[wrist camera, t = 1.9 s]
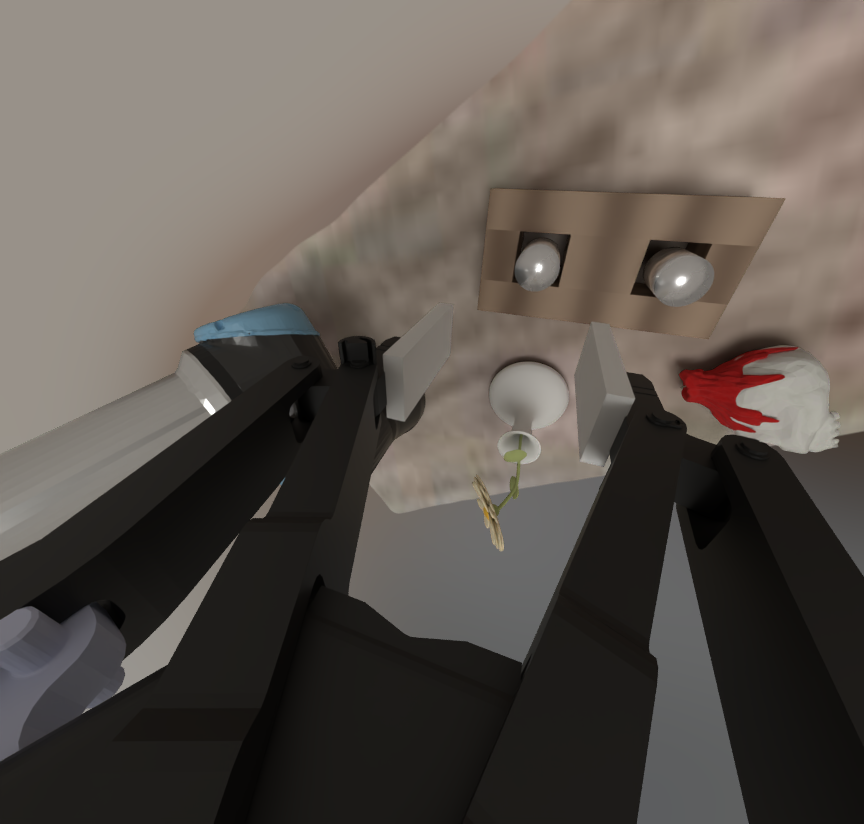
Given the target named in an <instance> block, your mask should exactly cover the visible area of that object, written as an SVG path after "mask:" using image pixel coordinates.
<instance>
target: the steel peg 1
mask: <svg viewBox="0 0 864 824" xmlns="http://www.w3.org/2000/svg"><path fill="white" fill-rule="evenodd" d="M559 269H560V250H559V248H558V246H557V244H556V243H555V242H554V241H552V240H550V239H548V238H538V239H535V240H533V241H531V242H530V243H529V244H528V245H527V246H526V247H525V248H524V250H523V252H522V253H521V255H520V256H519V258H518V260H517V262H516V265H515V277H516V280H517V282H518V283H519V285H520V286H521V287H522V288H524V289H526V290H528V291H541V290H544V289H546V288H548V287H549V286H550V285H551V284H552V283H553V282H554V281H555V280H556V278H557V276H558V273H559Z"/></svg>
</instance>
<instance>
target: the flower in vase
mask: <svg viewBox="0 0 864 824" xmlns="http://www.w3.org/2000/svg"><path fill="white" fill-rule="evenodd" d="M489 399H490V403H491V406H492V408H493V410H494V412H495V413H496V414H497V416H498V417H499V418H500V419H501V420H503V421H504V422H505V423H507V424H509V425H511V426H513V428H512V430H511V431H510V432H507V433H505V434H504V435H502V436H501V438H500V439H499V441H498V450H499V453H500V454H501V455H502V456H503V457H504V460H505V461H507V462H512V463H516V464H517V476H516V478H515V477H514V476H512V477H511V479H510V491H511V492H510V494H509V495H508V496H507V497H506V499H505V500H504V501H503V502H502V503H501V504H500V505H499V506H498V507H497V506H496V505H494V504H492V502H491V499H490V497H489V494H488V492H487V489H486V487H485V485H484V483H483V482H482V480H481V479H480V477H479V476H478V475H476V476H477V478H476V477H474V479H475V481H476V482H475V481H474V482H472V484H473V487H474V489H475V491H476V492H477V494H478V496H479V498H480V499H477V502H478V505H479V507H480V508H481V509H482V510H483V512H484V515H485V517H484V522H485V525H486V527H487V528H488V527H489V526H490V532H491V539H492V542H493V544H494V545H496V548H497V549H498V547H499V550H500V551H503V550H504V542H503V536H502V532H501V529H500V525H499V522H498V518H497V516H498V514H499V510H500V509H501V508H502V507H503V506H504V505H505V504H506V503H507V502H508V500H509V499H510V498H511V496H513V499H516V498H517V497H518V494H519V490H518V482H519V474H520V464H527V463H531V462H533V461H535V460H536V459H537V458H538V457H539V455H540V453H541V446H540V443H539V442H538V440H537V439H536V438H535V437H534V436H533V435H532V430H534V429H540V428H544V427H547V426H549V425H551V424H552V423H554V422H555V421H557V420H558V419H559V418H560V417H561V416H562V414H563V413H564V412H565V410H566V408H567V406H568V402H569V389H568V386H567V384H566V382H565V380H564V379H563V377H562V376H561V375H560V374H559V373H558V372H557V371H556V370H554V369H553V368H551V367H549V366H547V365H545V364H541V363H537V362H519V363H515V364H512V365H509V366H507V367H505V368H504V369H502V370H501V371H500V372H499V373H498V374H497V375H496V376H495V377H494V379H493V381H492V383H491V385H490V389H489Z"/></svg>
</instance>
